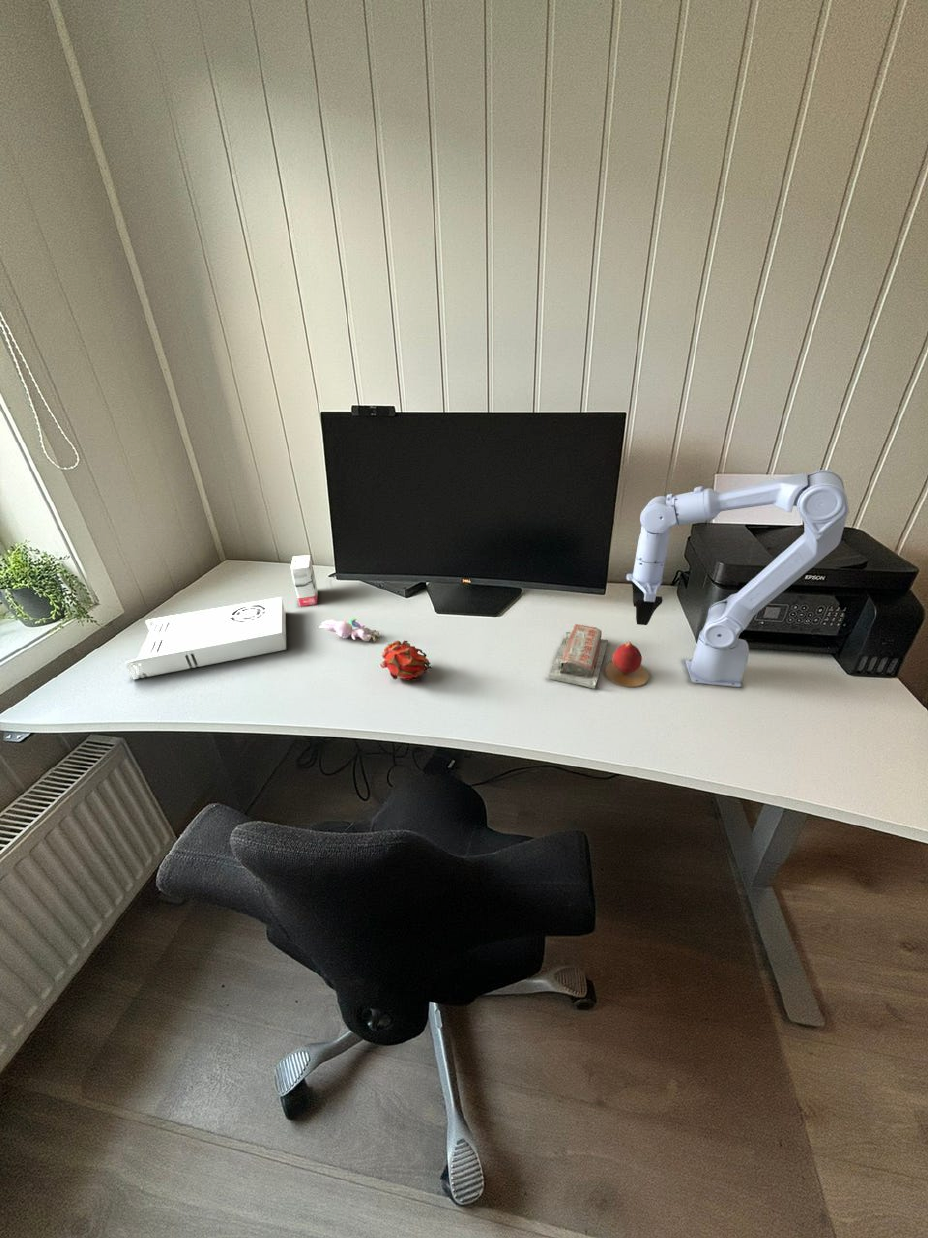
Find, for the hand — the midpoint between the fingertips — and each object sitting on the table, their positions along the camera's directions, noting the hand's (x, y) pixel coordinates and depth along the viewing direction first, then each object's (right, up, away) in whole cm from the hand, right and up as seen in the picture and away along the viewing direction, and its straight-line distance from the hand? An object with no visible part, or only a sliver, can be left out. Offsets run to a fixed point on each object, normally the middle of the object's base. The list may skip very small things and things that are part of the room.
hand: (640, 614), depth 105 cm
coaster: (-3, -13, -1) cm, 13 cm away
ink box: (-83, +5, +33) cm, 90 cm away
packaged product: (-12, -11, +4) cm, 17 cm away
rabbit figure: (-67, -6, +15) cm, 69 cm away
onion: (-4, -13, -1) cm, 13 cm away
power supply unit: (-100, -7, +15) cm, 101 cm away
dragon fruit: (-51, -13, +2) cm, 53 cm away
